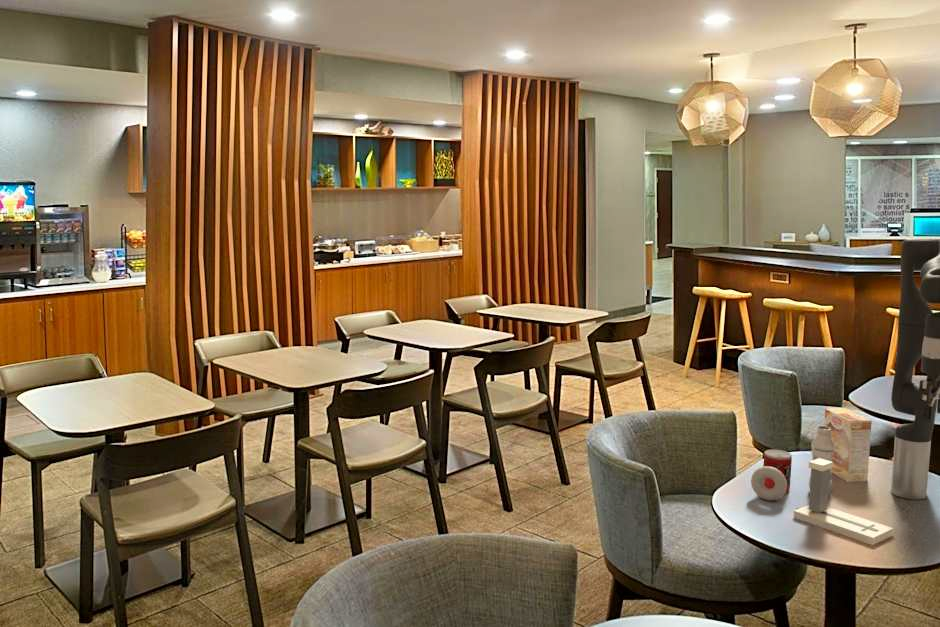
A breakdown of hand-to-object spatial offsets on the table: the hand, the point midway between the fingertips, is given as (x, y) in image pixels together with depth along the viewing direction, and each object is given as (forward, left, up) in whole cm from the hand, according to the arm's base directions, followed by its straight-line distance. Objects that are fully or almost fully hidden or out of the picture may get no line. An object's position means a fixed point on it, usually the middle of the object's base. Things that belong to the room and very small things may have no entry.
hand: (934, 416), depth 207 cm
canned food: (+1, -43, -32) cm, 53 cm away
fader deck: (+12, -16, -32) cm, 37 cm away
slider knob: (+12, -23, -30) cm, 39 cm away
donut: (+11, -39, -32) cm, 51 cm away
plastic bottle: (-6, -33, -32) cm, 46 cm away
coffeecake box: (-28, -38, -32) cm, 56 cm away
